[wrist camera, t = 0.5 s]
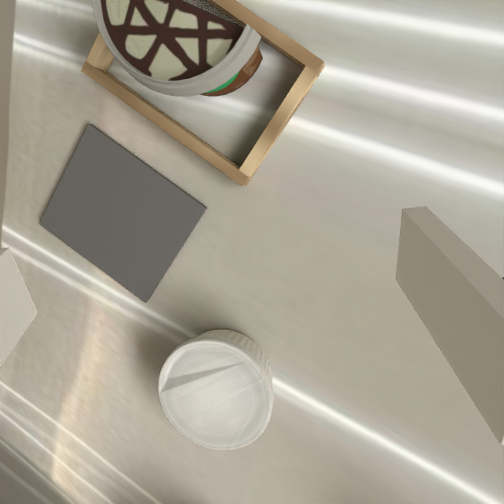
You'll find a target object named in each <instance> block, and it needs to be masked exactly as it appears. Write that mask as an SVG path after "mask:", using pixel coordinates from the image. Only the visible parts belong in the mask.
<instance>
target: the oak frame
mask: <svg viewBox="0 0 504 504" xmlns="http://www.w3.org/2000/svg"><path fill="white" fill-rule="evenodd" d="M206 1H207V2H209V3H210V4H212V5H213V6H215V7H216V8H217V9H219V10H220V11H222V12H223V13H225V14H226V15H228V16H229V17H230V18H232V19H233V20H235V21H236V22H238V23H239V24H241V25H242V26H243V27H245V26H246V24H248V25H249V26H250V27H251V28H253V29H254V30H255V31H256V32H257V33H258V34H259V35H260V36H261V39H262V40H264V41H265V42H266V43H268V44H269V45H271V46H272V47H274V48H275V49H277V50H278V51H279V52H281V53H282V54H284V55H285V56H287V57H288V58H290V59H291V60H292V61H294V62H295V63H297V64H298V65H300V66H301V67H303V68H304V69H303V71H302V73H301V74H300V76H299V77H298V79H297V80H296V82H295V83H294V85H293V87H292V88H291V90H290V91H289V93H288V94H287V96H286V97H285V99H284V101H283V102H282V104H281V105H280V107H279V108H278V110H277V111H276V113H275V115H274V116H273V118H272V119H271V121H270V122H269V124H268V125H267V127H266V129H265V130H264V132H263V133H262V135H261V136H260V138H259V139H258V141H257V143H256V144H255V146H254V147H253V149H252V150H251V152H250V153H249V155H248V157H247V158H246V160H245V161H244V163H243V164H242V166H241V167H239V166H238V165H237V164H235V163H234V162H232V161H231V160H229V159H228V158H227V157H225V156H224V155H222V154H221V153H220V152H218V151H217V150H215V149H214V148H213V147H211V146H210V145H208V144H207V143H206V142H204V141H203V140H201V139H200V138H199V137H197V136H196V135H194V134H193V133H192V132H190V131H189V130H187V129H186V128H185V127H183V126H182V125H180V124H179V123H178V122H176V121H175V120H173V119H172V118H171V117H169V116H168V115H166V114H165V113H164V112H162V111H161V110H159V109H158V108H157V107H155V106H154V105H152V104H151V103H150V102H148V101H147V100H145V99H144V98H143V97H141V96H140V95H138V94H137V93H136V92H134V91H133V90H131V89H130V88H129V87H127V86H126V85H124V84H123V83H122V82H120V81H119V80H117V79H116V78H115V77H113V76H112V75H110V74H109V73H108V72H107V71H108V69H109V67H110V65H111V63H112V61H113V59H114V56H113V55H112V53H111V52H110V50H109V49H108V47H107V46H106V43H105V41H104V39H103V37H102V35H101V33H100V32H99V34H98V36H97V38H96V40H95V42H94V44H93V47H92V49H91V51H90V53H89V55H88V57H87V59H86V61H85V64H84V66H83V68H82V70H81V71H82V72H83V73H85V74H86V75H87V76H89V77H90V78H92V79H93V80H94V81H96V82H97V83H98V84H100V85H101V86H103V87H104V88H105V89H107V90H108V91H110V92H111V93H112V94H114V95H115V96H117V97H118V98H119V99H121V100H122V101H124V102H125V103H126V104H128V105H129V106H131V107H132V108H133V109H135V110H136V111H138V112H139V113H140V114H142V115H143V116H145V117H146V118H147V119H149V120H150V121H152V122H153V123H154V124H156V125H157V126H159V127H160V128H161V129H163V130H164V131H166V132H167V133H168V134H170V135H171V136H173V137H174V138H175V139H177V140H178V141H179V142H181V143H182V144H184V145H185V146H186V147H188V148H189V149H191V150H192V151H193V152H195V153H196V154H198V155H199V156H200V157H202V158H203V159H205V160H206V161H207V162H209V163H210V164H212V165H213V166H214V167H216V168H217V169H219V170H220V171H221V172H223V173H224V174H226V175H227V176H228V177H230V178H231V179H233V180H234V181H235V182H237V183H238V184H240V185H241V186H245V185H247V184H248V182H249V181H250V179H251V178H252V176H253V175H254V173H255V172H256V170H257V169H258V167H259V166H260V164H261V163H262V161H263V160H264V158H265V157H266V155H267V153H268V152H269V150H270V149H271V147H272V146H273V144H274V143H275V141H276V140H277V138H278V137H279V135H280V134H281V132H282V131H283V129H284V128H285V126H286V125H287V123H288V122H289V120H290V119H291V117H292V116H293V114H294V112H295V111H296V109H297V108H298V106H299V105H300V103H301V102H302V100H303V99H304V97H305V96H306V94H307V93H308V91H309V90H310V88H311V87H312V85H313V84H314V82H315V81H316V79H317V78H318V76H319V74H320V73H321V71H322V70H323V68H324V61H323V60H321V59H320V58H318V57H317V56H315V55H314V54H312V53H311V52H310V51H308V50H307V49H305V48H304V47H302V46H301V45H299V44H298V43H296V42H295V41H294V40H292V39H291V38H289V37H288V36H286V35H285V34H283V33H282V32H281V31H279V30H278V29H276V28H275V27H273V26H272V25H270V24H269V23H268V22H266V21H265V20H263V19H262V18H260V17H259V16H257V15H256V14H254V13H253V12H252V11H250V10H249V9H247V8H246V7H244V6H243V5H241V4H240V3H239V2H237V1H236V0H206Z"/></svg>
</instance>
